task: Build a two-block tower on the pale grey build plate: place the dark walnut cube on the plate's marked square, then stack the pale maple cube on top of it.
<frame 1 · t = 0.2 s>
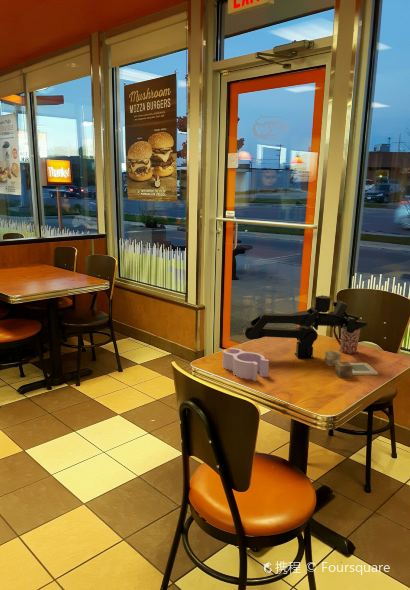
hand: (362, 321, 199), 17 cm above the table, tool horizontal, fingers open, 9 cm apart
clip: (243, 372, 182), on the table
build plate: (359, 369, 187), on the table
maple cube: (332, 363, 193), on the table
walnut cube: (343, 375, 180), on the table
mug: (344, 350, 211), on the table
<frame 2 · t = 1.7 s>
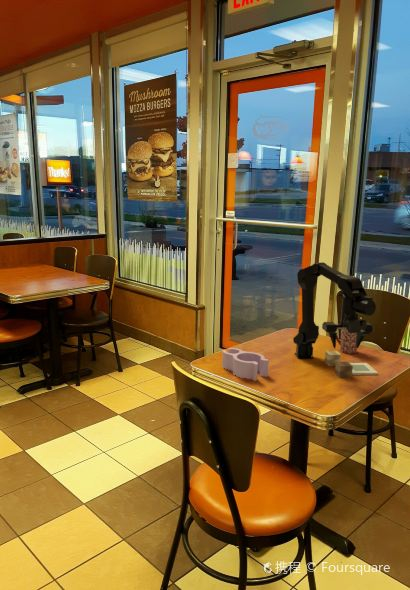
hand: (345, 347, 178), 11 cm above the table, tool pointing down, fingers open, 9 cm apart
nothing on the table moved.
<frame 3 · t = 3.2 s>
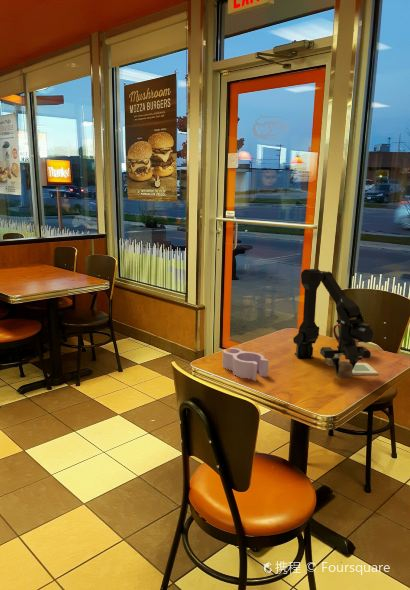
hand: (343, 372, 180), 1 cm above the table, tool pointing down, fingers closed on walnut cube, 5 cm apart
walnut cube: (343, 375, 180), on the table, touching gripper
everything else where it was.
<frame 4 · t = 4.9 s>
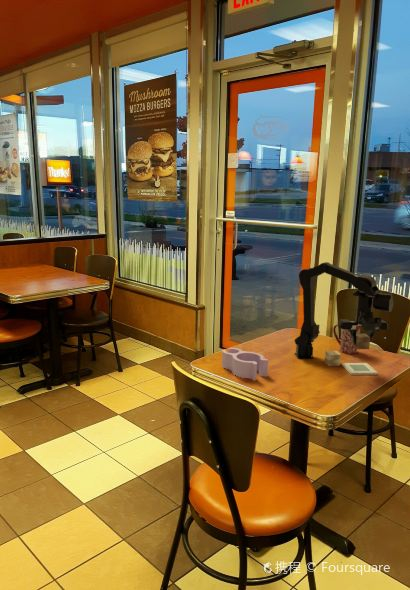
hand: (360, 344, 184), 11 cm above the table, tool pointing down, fingers closed on walnut cube, 5 cm apart
walnut cube: (360, 347, 184), point 10 cm above the table, touching gripper
everything else where it was.
when the fingers open (3 cm above the table, at t = 6.8 s): walnut cube drops 1 cm, resting on build plate.
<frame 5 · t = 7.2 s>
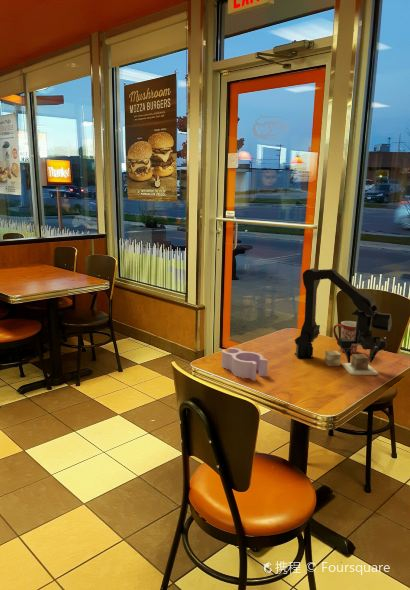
hand: (359, 362, 186), 3 cm above the table, tool pointing down, fingers open, 9 cm apart
walnut cube: (359, 367, 187), point 1 cm above the table, touching build plate
everything else where it was.
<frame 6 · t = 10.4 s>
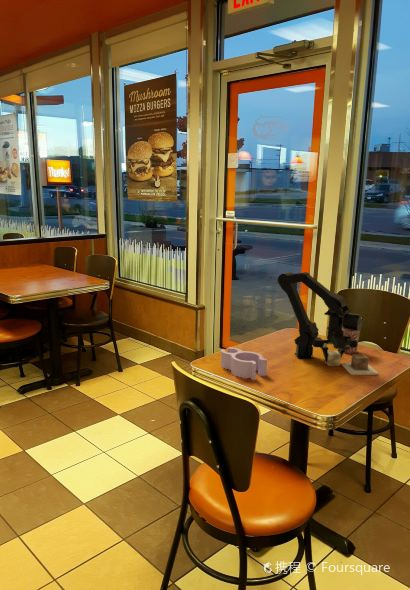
hand: (332, 361, 193), 1 cm above the table, tool pointing down, fingers closed on maple cube, 5 cm apart
maple cube: (332, 363, 193), on the table, touching gripper
everything else where it was.
when the fingers open (8 cm above the table, at t = 13.5 s): maple cube drops 1 cm, resting on walnut cube.
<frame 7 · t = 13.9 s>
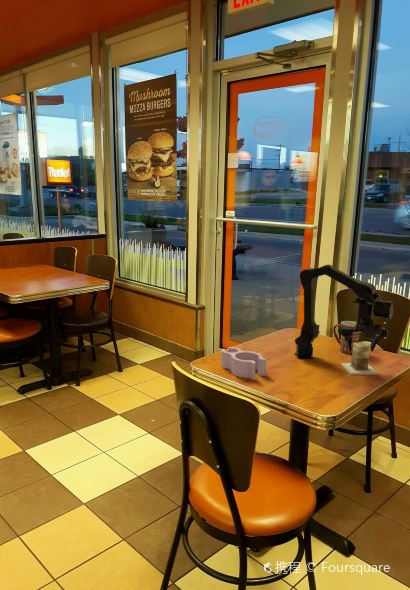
hand: (360, 351, 185), 8 cm above the table, tool pointing down, fingers open, 9 cm apart
maple cube: (360, 356, 186), point 6 cm above the table, touching walnut cube
walnut cube: (359, 367, 187), point 1 cm above the table, touching build plate, maple cube
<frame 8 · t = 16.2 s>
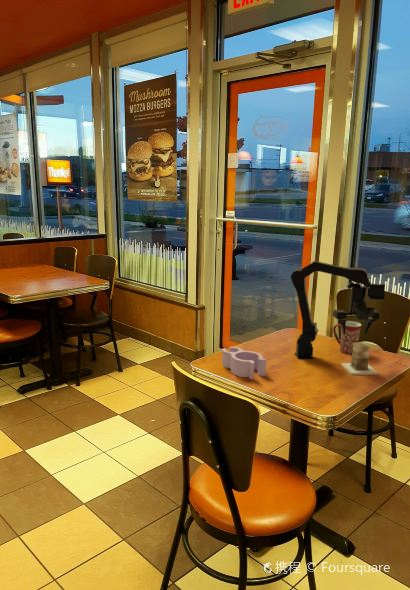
hand: (354, 333, 192), 13 cm above the table, tool pointing down, fingers open, 9 cm apart
at the end: walnut cube 0.0 cm off-centre on the build plate, point 0.9 cm above the build plate's base; maple cube 0.0 cm off-centre on the walnut cube, point 5.0 cm above the walnut cube's base; maple cube tilted 0° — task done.
